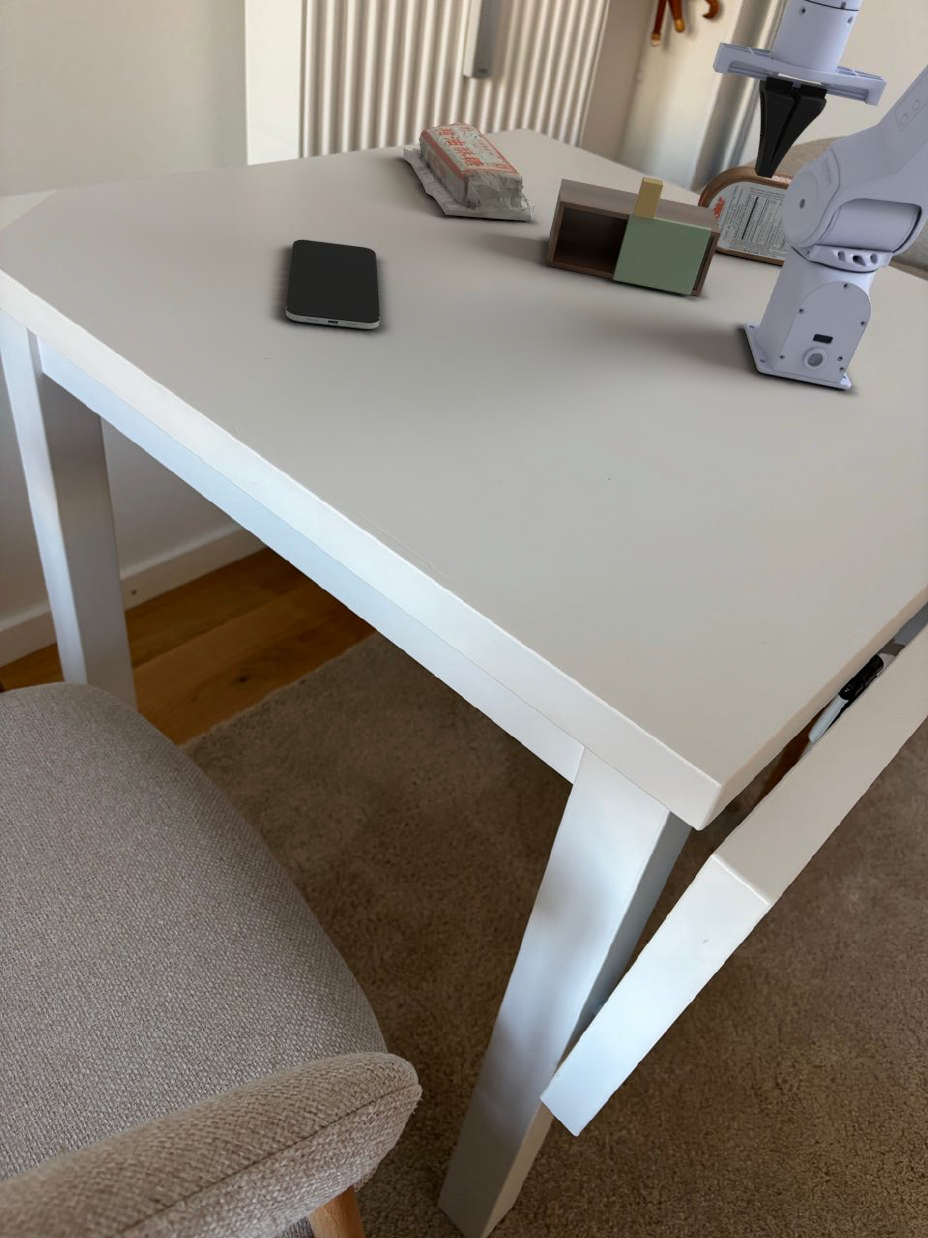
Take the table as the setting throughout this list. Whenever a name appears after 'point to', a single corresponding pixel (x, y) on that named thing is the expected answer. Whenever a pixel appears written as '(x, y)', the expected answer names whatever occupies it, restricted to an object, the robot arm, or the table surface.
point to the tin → (749, 213)
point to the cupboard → (611, 228)
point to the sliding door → (659, 246)
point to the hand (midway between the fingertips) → (762, 173)
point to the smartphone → (333, 285)
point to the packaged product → (468, 174)
